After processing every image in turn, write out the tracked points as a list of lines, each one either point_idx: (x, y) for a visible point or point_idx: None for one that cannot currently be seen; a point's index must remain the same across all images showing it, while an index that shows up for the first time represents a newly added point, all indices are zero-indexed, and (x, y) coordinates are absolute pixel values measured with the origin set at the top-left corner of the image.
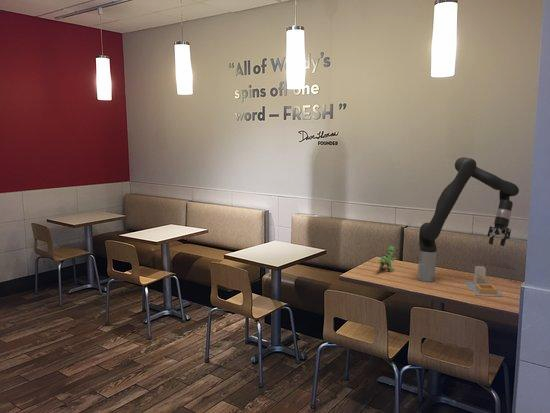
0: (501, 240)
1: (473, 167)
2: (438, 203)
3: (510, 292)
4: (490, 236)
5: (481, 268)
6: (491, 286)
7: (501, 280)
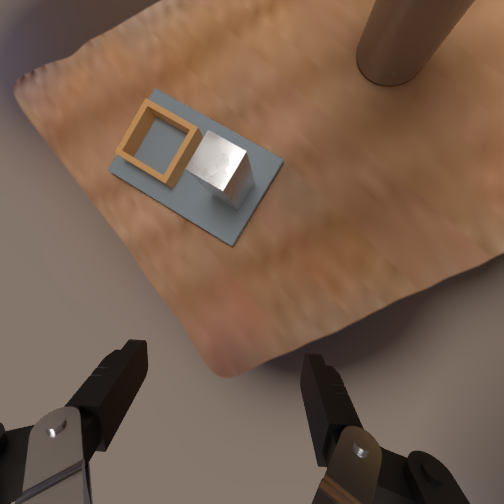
0: (107, 382)
1: None
2: None
3: (139, 241)
4: (352, 443)
5: (197, 148)
6: (158, 172)
7: (260, 342)
